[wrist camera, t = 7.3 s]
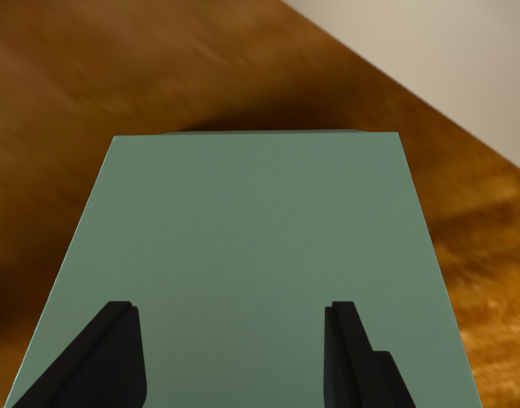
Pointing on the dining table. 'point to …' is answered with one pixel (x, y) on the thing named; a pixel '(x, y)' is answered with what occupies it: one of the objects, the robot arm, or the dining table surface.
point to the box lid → (257, 268)
